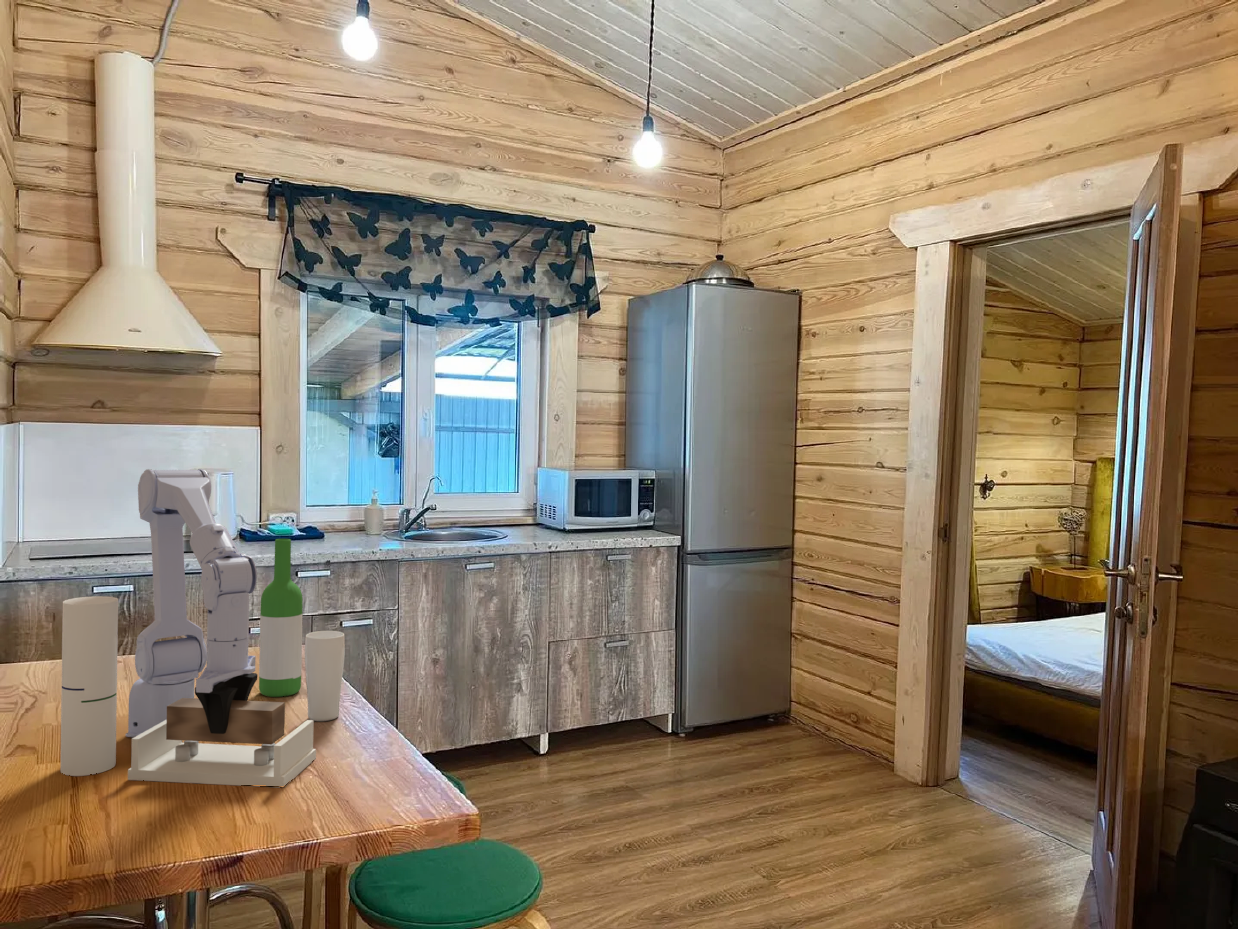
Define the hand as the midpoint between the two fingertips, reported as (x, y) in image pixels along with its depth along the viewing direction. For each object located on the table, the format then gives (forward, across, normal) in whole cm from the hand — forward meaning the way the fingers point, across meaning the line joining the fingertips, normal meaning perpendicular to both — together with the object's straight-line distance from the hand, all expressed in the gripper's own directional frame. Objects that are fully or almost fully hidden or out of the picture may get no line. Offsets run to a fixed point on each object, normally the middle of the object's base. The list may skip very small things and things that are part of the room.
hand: (226, 727), depth 137 cm
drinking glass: (+6, +26, -5) cm, 27 cm away
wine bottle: (+6, +40, +9) cm, 41 cm away
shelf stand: (+6, 0, 0) cm, 6 cm away
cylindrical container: (+6, -2, +20) cm, 21 cm away
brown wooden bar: (+2, 0, 0) cm, 2 cm away
